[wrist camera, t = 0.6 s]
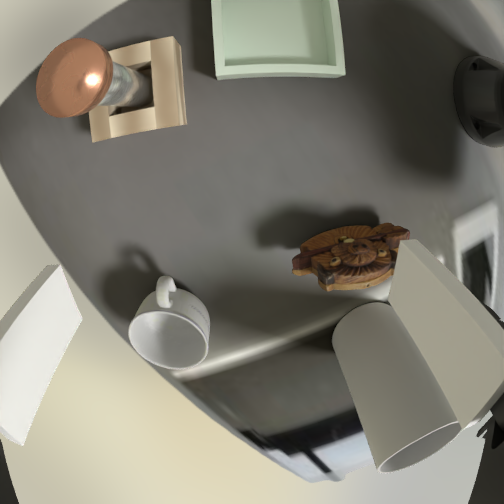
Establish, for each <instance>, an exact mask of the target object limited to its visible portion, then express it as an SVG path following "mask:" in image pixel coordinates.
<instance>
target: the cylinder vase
mask: <svg viewBox="0 0 504 504" xmlns="http://www.w3.org/2000/svg"><path fill="white" fill-rule="evenodd" d="M332 345H333V348H334V351H335V353H336V356H337V358H338V361H339V364H340V366H341V369H342V372H343V374H344V377H345V380H346V382H347V385H348V388H349V390H350V393H351V396H352V399H353V401H354V404H355V407H356V410H357V413H358V415H359V418H360V421H361V424H362V427H363V430H364V433H365V435H366V438H367V441H368V444H369V447H370V450H371V453H372V456H373V459H374V462H375V465H376V468H377V471H378V472H379V473H391V472H395V471H399V470H402V469H405V468H407V467H410V466H412V465H415V464H417V463H419V462H420V461H423V460H425V459H427V458H428V457H430V456H432V455H433V454H435V453H436V452H438V451H439V450H441V449H442V448H444V447H445V446H446V445H448V444H449V443H450V442H451V441H452V440H454V439H455V438H456V437H457V436H458V434H460V432H461V431H462V428H461V426H460V424H459V422H458V420H457V418H456V416H455V414H454V412H453V410H452V408H451V406H450V404H449V402H448V400H447V398H446V396H445V394H444V392H443V391H442V389H441V387H440V385H439V383H438V381H437V380H436V378H435V376H434V374H433V373H432V371H431V369H430V367H429V366H428V364H427V362H426V360H425V359H424V357H423V355H422V354H421V352H420V350H419V349H418V347H417V345H416V344H415V342H414V340H413V339H412V337H411V335H410V334H409V332H408V331H407V329H406V327H405V326H404V324H403V323H402V321H401V319H400V318H399V316H398V315H397V313H396V312H395V310H394V309H393V308H392V307H391V306H389V305H387V304H385V303H379V302H374V303H368V304H364V305H361V306H359V307H357V308H355V309H353V310H352V311H350V312H349V313H348V314H346V315H345V316H344V317H343V318H342V319H341V320H340V322H339V323H338V324H337V326H336V328H335V330H334V332H333V336H332Z"/></svg>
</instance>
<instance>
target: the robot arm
mask: <svg viewBox="0 0 504 504" xmlns="http://www.w3.org/2000/svg"><path fill="white" fill-rule="evenodd" d="M454 97H455V104H456V108H457V112H458V115H459V117H460V120H461V122H462V124H463V126H464V128H465V130H466V131H467V133H468V134H469V135H470V136H471V137H472V138H473V139H474V140H475V141H476V142H478V143H480V144H482V145H486V146H489V147H502V146H504V63H501V62H499V61H496V60H493V59H491V58H488V57H484V56H473V57H468V58H466V59H464V60H463V61H462V62H461V63H460V64H459V66H458V68H457V71H456V74H455V79H454ZM388 301H389V303H390V304H391V306H392V307H393V309H394V310H395V312H396V313H397V315H398V316H399V318H400V319H401V321H402V323H403V324H404V326H405V327H406V329H407V331H408V332H409V334H410V335H411V337H412V339H413V340H414V342H415V344H416V345H417V347H418V349H419V350H420V352H421V354H422V355H423V357H424V359H425V360H426V362H427V364H428V366H429V367H430V369H431V371H432V373H433V374H434V376H435V378H436V380H437V381H438V383H439V385H440V387H441V389H442V391H443V392H444V394H445V396H446V398H447V400H448V402H449V404H450V406H451V408H452V410H453V412H454V414H455V416H456V418H457V420H458V422H459V424H460V426H461V428H462V430H464V429H466V428H468V427H470V426H472V425H473V424H476V423H477V422H479V421H481V419H482V418H483V417H484V416H485V415H486V414H487V413H488V411H489V410H491V412H492V414H493V416H492V417H491V418H490V419H489V420H488V421H487V422H486V423H485V425H484V426H483V427H482V428H481V429H480V430H479V431H478V433H477V437H479V436H480V435H481V434H482V433H483V432H484V431H485V430H486V429H487V432H486V433H485V435H484V436H483V438H485V444H484V449H483V453H482V458H481V462H480V466H479V470H478V474H477V477H476V481H475V484H474V487H473V491H472V494H471V497H470V500H469V502H468V504H504V322H503V321H502V322H501V319H500V318H499V316H498V315H497V314H496V313H495V312H494V311H493V310H492V309H491V308H490V307H488V306H487V305H485V304H484V303H482V302H481V301H478V300H477V299H476V297H475V296H474V295H473V294H472V293H471V292H470V291H469V290H468V289H467V288H466V287H465V286H464V285H463V284H462V283H461V282H460V281H459V280H458V279H457V278H456V277H455V276H454V275H453V274H452V273H451V272H450V271H449V270H448V269H447V268H446V267H445V266H444V265H443V264H442V263H441V262H440V261H439V260H438V259H437V258H436V257H435V256H434V255H433V254H432V253H431V252H429V251H428V250H427V249H426V248H425V247H424V246H423V245H422V244H421V243H420V242H419V241H417V240H416V239H414V240H400V244H399V250H398V255H397V260H396V265H395V270H394V275H393V279H392V284H391V288H390V292H389V297H388ZM81 321H82V317H81V314H80V312H79V310H78V307H77V305H76V303H75V300H74V298H73V296H72V293H71V291H70V289H69V286H68V283H67V281H66V278H65V275H64V273H63V270H62V267H61V265H48V266H46V267H45V268H44V269H43V271H42V272H41V273H40V274H39V275H38V276H37V277H36V278H35V279H34V281H33V282H32V283H31V284H30V285H29V286H28V287H27V289H26V290H25V291H24V292H23V293H22V294H21V296H20V297H19V298H18V299H17V301H16V302H15V303H14V304H13V305H12V307H11V308H10V309H9V310H8V312H7V313H6V314H5V315H4V317H3V318H2V319H1V321H0V432H1V433H2V434H3V435H4V436H5V437H6V438H7V439H8V440H10V441H12V442H15V443H17V444H20V445H22V446H23V445H24V442H25V440H26V437H27V434H28V432H29V429H30V427H31V424H32V422H33V419H34V416H35V414H36V412H37V409H38V407H39V405H40V403H41V400H42V398H43V396H44V393H45V391H46V389H47V387H48V385H49V382H50V380H51V378H52V376H53V374H54V372H55V370H56V368H57V366H58V364H59V362H60V360H61V358H62V356H63V354H64V352H65V350H66V348H67V346H68V345H69V343H70V341H71V339H72V337H73V335H74V334H75V332H76V330H77V328H78V326H79V324H80V323H81ZM0 504H19V502H18V499H17V497H16V493H15V490H14V487H13V485H12V481H11V478H10V474H9V471H8V467H7V463H6V459H5V455H4V450H3V446H2V442H1V440H0Z"/></svg>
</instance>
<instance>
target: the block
mask: <svg viewBox="0 0 504 504" xmlns="http://www.w3.org/2000/svg"><path fill="white" fill-rule="evenodd" d="M108 52H109V54H110V56H111V58H112V61H113V62H116V63H118V64H121V65H123V66H126V67H128V68H130V69H133V70H135V71H137V72H140V73H142V74H144V75H147V76H149V77H151V78H152V84H153V96H154V99H153V100H152V101H151V102H150V103H149V104H148V105H146V106H143V107H124V106H96V107H95V108H94V109H92V110H91V111H89V118H90V127H91V135H92V143H93V142H97V141H101V140H105V139H109V138H114V137H118V136H123V135H127V134H132V133H137V132H143V131H148V130H154V129H159V128H165V127H172V126H179V125H186V124H187V121H186V110H185V98H184V85H183V72H182V56H181V46H180V45H179V43H178V42H177V41H176V40H175V38H174V37H173V36H171V37H165V38H160V39H155V40H151V41H146V42H142V43H138V44H134V45H130V46H126V47H122V48H119V49H115V50H112V51H108Z"/></svg>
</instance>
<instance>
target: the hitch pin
mask: <svg viewBox="0 0 504 504" xmlns="http://www.w3.org/2000/svg"><path fill="white" fill-rule="evenodd" d="M36 94H37V99H38V101H39V104H40V106H41V107H42V109H43V110H44V111H45V112H46V113H48V114H49V115H51V116H54V117H72V116H79V115H83V114H85V113H87V112H89V111H91V110H92V109H94V108H95V107H96V106H124V107H143V106H146V105H148V104H149V103H150V102H151V101H152V100H153V99H154V96H153V84H152V78H151V77H149V76H147V75H144V74H142V73H140V72H137V71H135V70H133V69H130V68H128V67H126V66H123V65H121V64H118V63H116V62H113V61H112V58H111V56H110V54H109V52H108V51H107V50H106V49H105V48H104V47H103V46H102V45H100V44H97V43H95V42H93V41H91V40H88V39H85V38H74V39H70V40H67V41H65V42H63V43H61V44H60V45H58V46H57V47H56V48H55V49H54V50H53V51H52V52H51V53H50V54H49V55H48V56H47V58H46V59H45V60H44V62H43V64H42V66H41V68H40V70H39V73H38V77H37V83H36Z"/></svg>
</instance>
